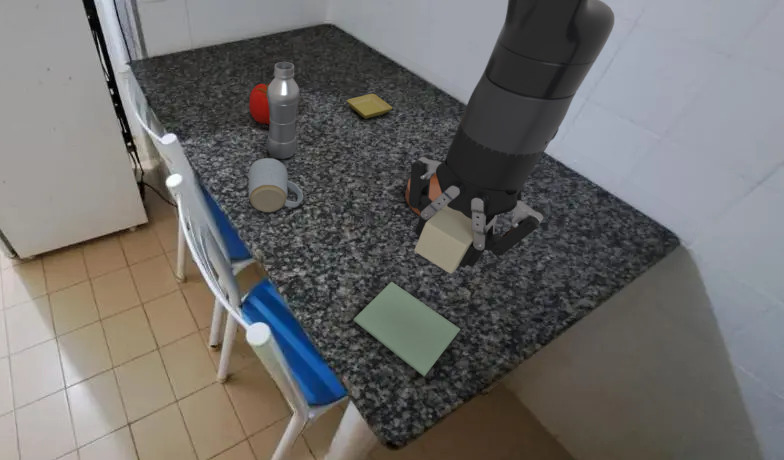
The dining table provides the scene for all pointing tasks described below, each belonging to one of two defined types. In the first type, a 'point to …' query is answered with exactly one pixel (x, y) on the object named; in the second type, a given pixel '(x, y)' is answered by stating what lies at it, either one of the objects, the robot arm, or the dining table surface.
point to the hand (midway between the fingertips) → (443, 249)
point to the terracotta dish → (433, 191)
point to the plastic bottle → (282, 111)
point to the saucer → (369, 105)
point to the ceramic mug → (271, 186)
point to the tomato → (260, 104)
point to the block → (445, 238)
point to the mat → (407, 327)
